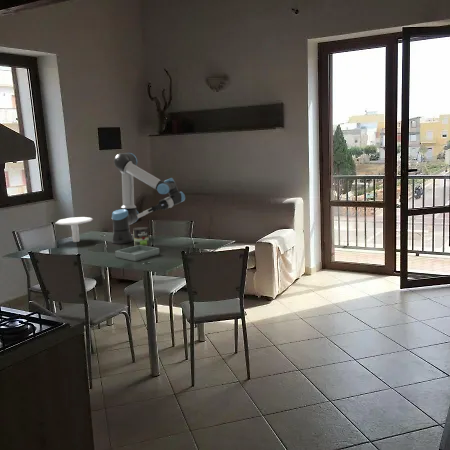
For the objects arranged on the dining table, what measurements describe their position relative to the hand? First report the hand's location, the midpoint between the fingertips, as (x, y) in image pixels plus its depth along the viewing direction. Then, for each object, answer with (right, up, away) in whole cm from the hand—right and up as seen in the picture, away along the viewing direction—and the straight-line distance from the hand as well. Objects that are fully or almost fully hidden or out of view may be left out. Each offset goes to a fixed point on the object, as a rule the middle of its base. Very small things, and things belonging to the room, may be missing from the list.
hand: (140, 214), depth 341 cm
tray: (+3, -27, -27) cm, 38 cm away
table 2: (-54, -20, +28) cm, 64 cm away
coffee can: (+2, -23, -5) cm, 24 cm away
